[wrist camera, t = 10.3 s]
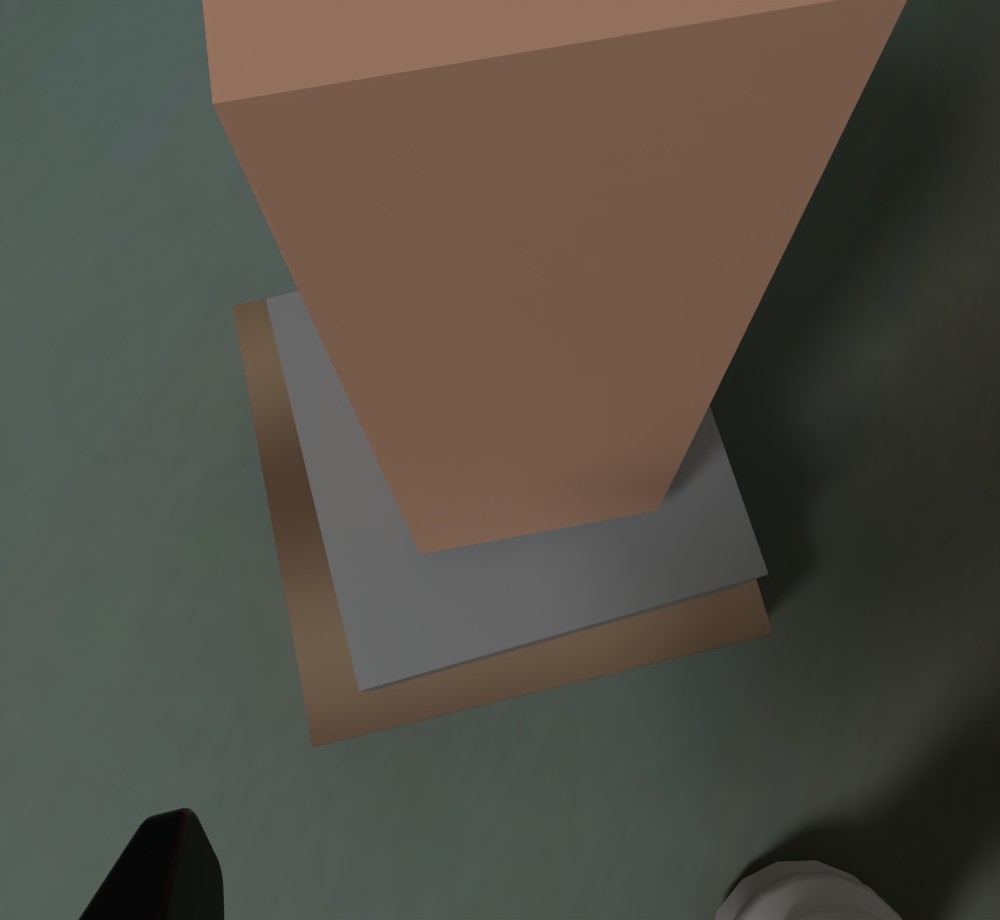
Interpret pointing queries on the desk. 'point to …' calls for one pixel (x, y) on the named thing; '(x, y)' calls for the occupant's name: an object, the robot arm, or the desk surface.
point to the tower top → (493, 544)
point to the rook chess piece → (803, 895)
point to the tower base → (502, 677)
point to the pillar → (534, 222)
